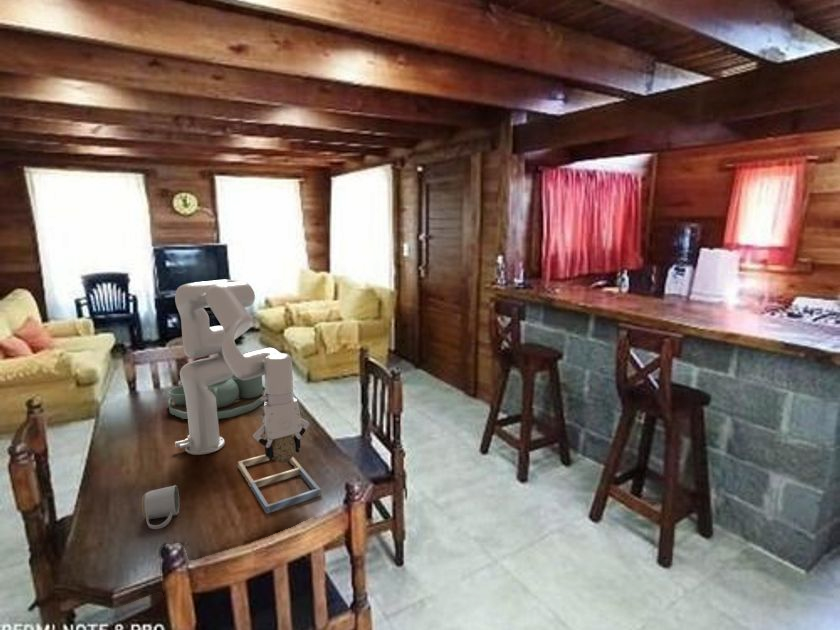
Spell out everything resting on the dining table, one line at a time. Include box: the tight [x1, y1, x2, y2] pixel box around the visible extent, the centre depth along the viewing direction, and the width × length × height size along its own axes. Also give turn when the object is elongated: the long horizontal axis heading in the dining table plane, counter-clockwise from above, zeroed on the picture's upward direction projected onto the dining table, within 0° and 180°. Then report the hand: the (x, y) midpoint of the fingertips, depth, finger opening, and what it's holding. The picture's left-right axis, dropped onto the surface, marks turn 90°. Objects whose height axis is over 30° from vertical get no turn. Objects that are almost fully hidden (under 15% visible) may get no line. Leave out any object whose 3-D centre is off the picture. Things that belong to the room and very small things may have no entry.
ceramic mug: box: [141, 484, 181, 530], centre depth 129 cm, size 11×8×8 cm
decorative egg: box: [271, 435, 296, 464], centre depth 139 cm, size 7×7×10 cm
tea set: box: [168, 374, 266, 420], centre depth 208 cm, size 40×40×16 cm
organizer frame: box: [237, 454, 322, 515], centre depth 148 cm, size 16×30×2 cm, turn 34°
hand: (283, 453), depth 140 cm, fingers closed on decorative egg, 7 cm apart
